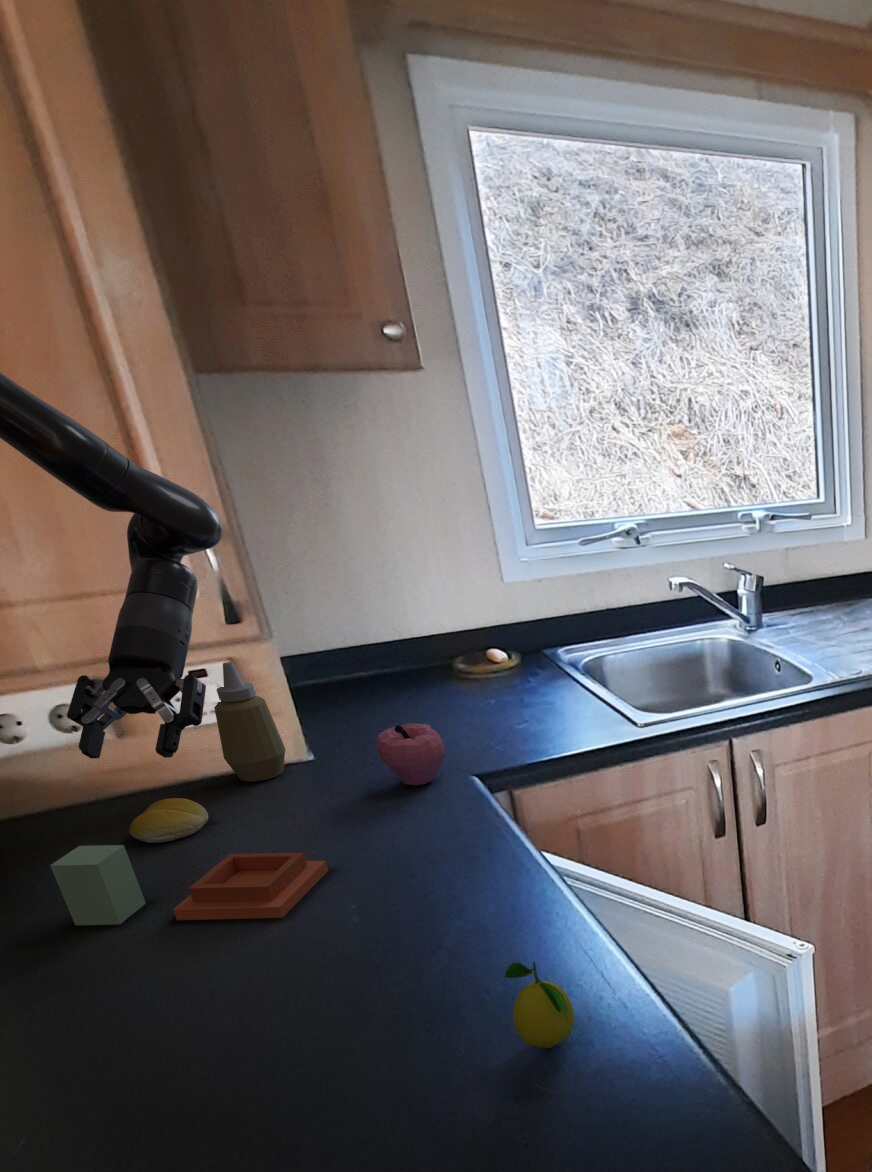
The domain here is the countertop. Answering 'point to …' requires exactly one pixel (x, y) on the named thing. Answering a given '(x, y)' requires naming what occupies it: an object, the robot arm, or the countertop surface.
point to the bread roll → (169, 820)
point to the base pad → (251, 887)
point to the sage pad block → (98, 885)
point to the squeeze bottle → (247, 730)
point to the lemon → (541, 1010)
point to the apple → (411, 752)
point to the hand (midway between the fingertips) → (127, 755)
